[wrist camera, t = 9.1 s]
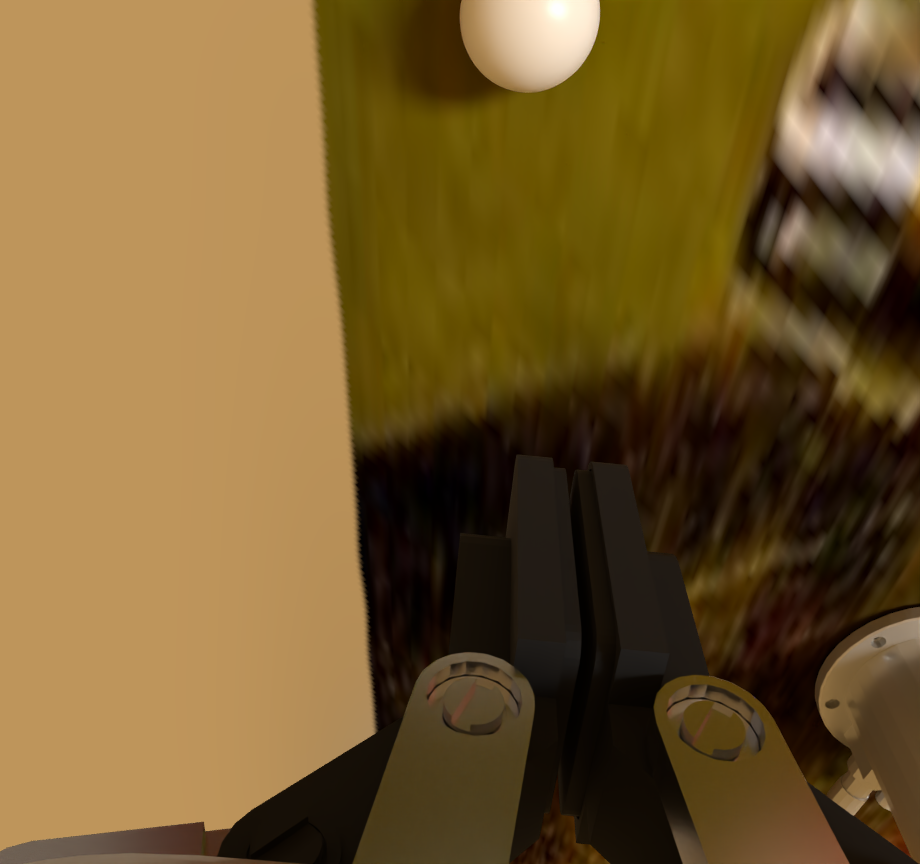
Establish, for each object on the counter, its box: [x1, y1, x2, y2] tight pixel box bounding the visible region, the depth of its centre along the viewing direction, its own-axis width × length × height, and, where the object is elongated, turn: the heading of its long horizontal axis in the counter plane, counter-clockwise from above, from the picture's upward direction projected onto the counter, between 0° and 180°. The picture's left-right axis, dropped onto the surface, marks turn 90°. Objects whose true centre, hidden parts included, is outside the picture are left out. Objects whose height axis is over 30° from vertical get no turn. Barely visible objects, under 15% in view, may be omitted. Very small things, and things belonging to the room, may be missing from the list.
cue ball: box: [460, 0, 600, 92], centre depth 32 cm, size 6×6×6 cm
